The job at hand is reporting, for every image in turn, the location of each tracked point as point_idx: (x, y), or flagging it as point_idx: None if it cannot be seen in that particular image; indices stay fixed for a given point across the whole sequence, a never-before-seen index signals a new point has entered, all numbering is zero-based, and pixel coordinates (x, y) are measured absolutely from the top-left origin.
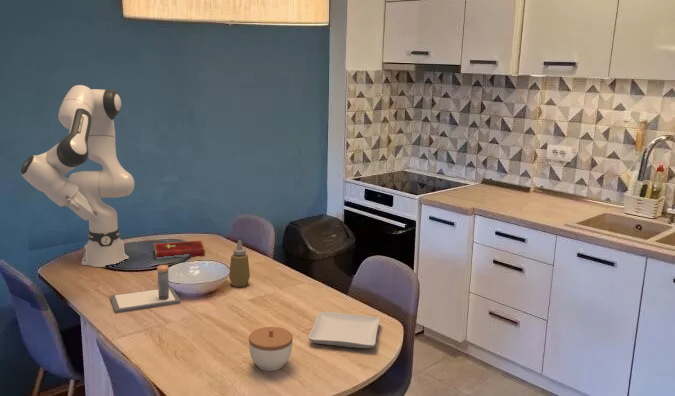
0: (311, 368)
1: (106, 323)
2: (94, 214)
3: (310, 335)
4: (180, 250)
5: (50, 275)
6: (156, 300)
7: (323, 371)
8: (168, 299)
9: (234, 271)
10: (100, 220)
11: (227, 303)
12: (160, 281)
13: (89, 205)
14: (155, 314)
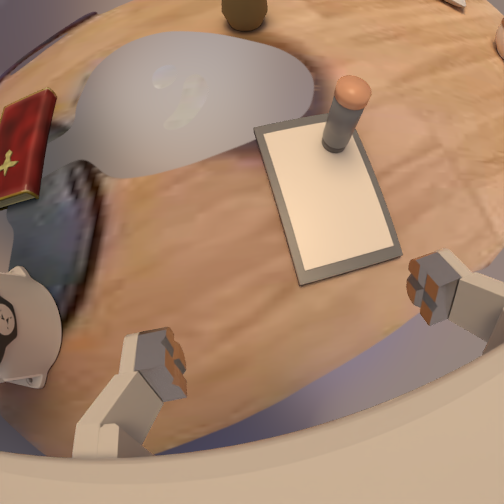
0: None
1: None
2: (173, 360)
3: (456, 2)
4: (36, 133)
5: None
6: (348, 158)
7: None
8: None
9: (262, 1)
10: (446, 250)
11: (343, 43)
12: (358, 120)
13: (346, 437)
14: (405, 165)
